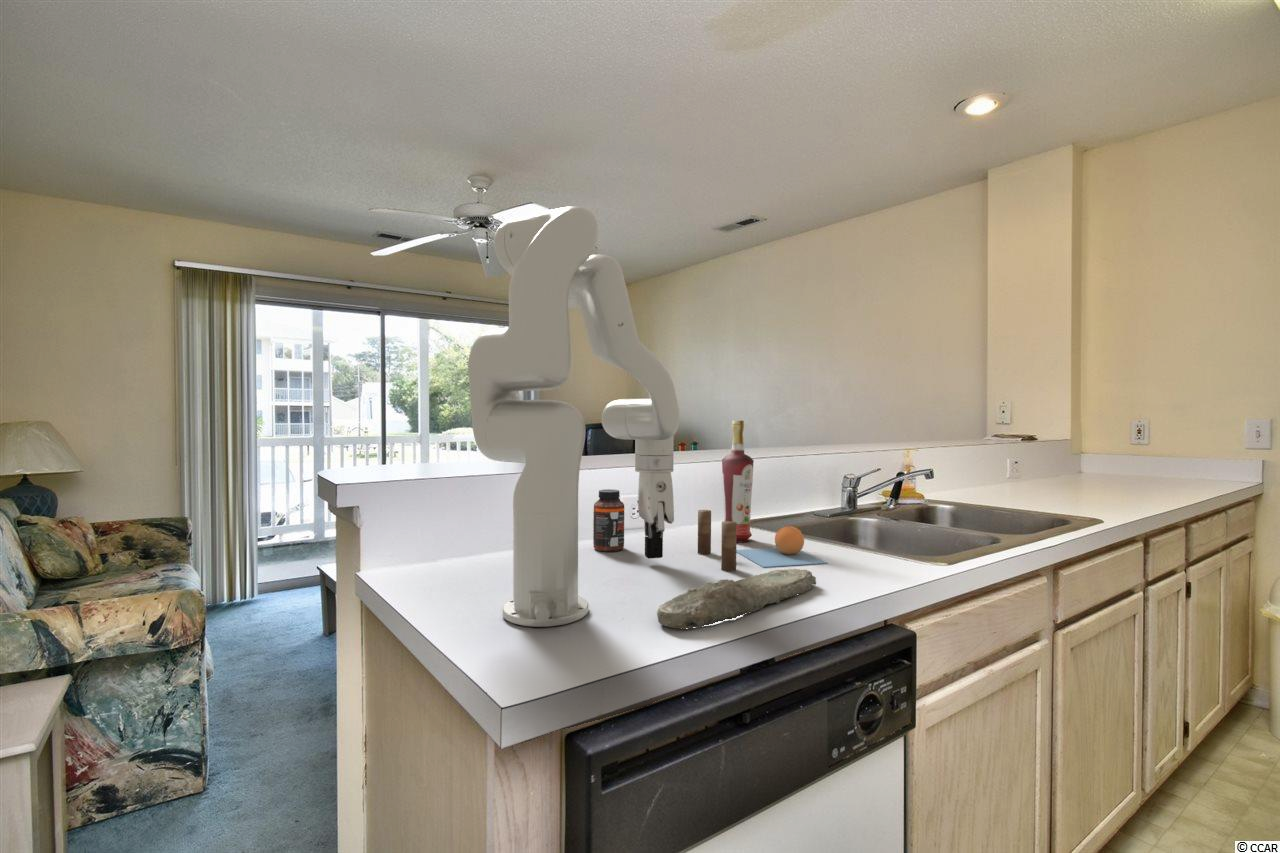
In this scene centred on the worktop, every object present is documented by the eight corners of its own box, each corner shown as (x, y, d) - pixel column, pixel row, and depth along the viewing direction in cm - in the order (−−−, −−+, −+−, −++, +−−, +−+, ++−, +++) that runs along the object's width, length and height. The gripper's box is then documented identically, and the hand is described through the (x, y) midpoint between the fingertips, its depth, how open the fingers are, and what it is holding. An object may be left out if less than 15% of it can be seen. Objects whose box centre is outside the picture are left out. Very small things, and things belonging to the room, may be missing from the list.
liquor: (738, 545, 133) (739, 421, 132) (714, 539, 139) (715, 420, 138) (759, 540, 138) (760, 420, 137) (735, 535, 143) (736, 420, 143)
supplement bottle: (623, 552, 125) (623, 492, 125) (591, 552, 125) (591, 492, 125) (625, 545, 132) (625, 488, 132) (594, 545, 132) (595, 488, 132)
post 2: (738, 570, 111) (738, 523, 111) (724, 571, 111) (725, 524, 110) (732, 567, 114) (733, 520, 114) (719, 568, 113) (719, 521, 113)
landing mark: (827, 563, 117) (827, 562, 117) (763, 567, 114) (763, 566, 114) (792, 547, 131) (792, 546, 131) (734, 551, 127) (734, 550, 127)
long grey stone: (831, 598, 100) (782, 588, 108) (831, 567, 101) (782, 559, 108) (692, 640, 77) (640, 623, 84) (692, 599, 77) (641, 586, 85)
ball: (807, 526, 122) (782, 533, 120) (811, 554, 123) (786, 561, 121) (791, 520, 127) (767, 527, 126) (795, 546, 128) (771, 553, 127)
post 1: (712, 554, 124) (713, 511, 124) (700, 555, 123) (700, 512, 123) (708, 551, 127) (708, 509, 127) (695, 551, 126) (696, 510, 126)
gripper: (684, 467, 109) (683, 565, 109) (661, 460, 123) (661, 547, 124) (645, 467, 107) (644, 568, 107) (626, 461, 121) (626, 549, 122)
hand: (653, 557), depth 115 cm, fingers closed
